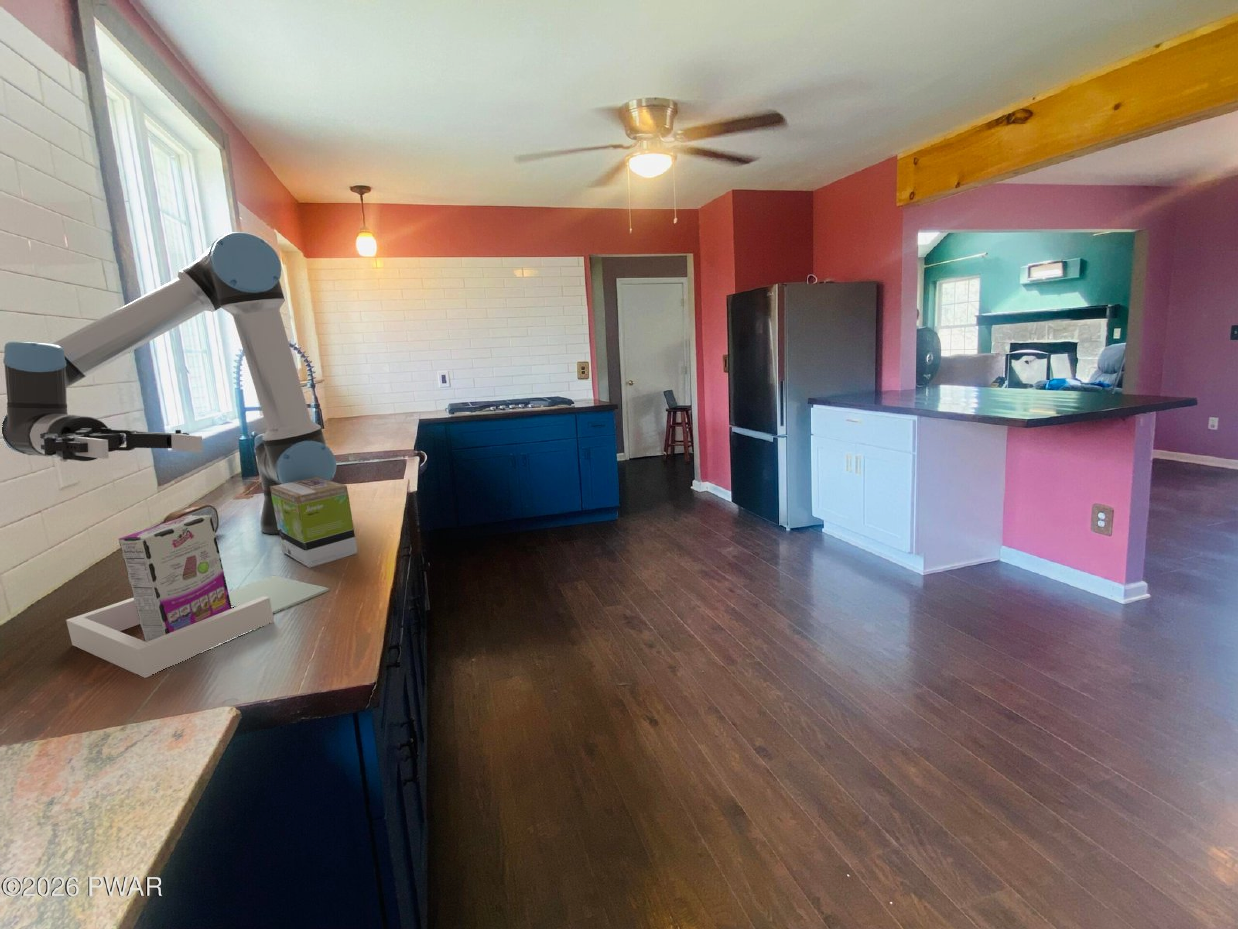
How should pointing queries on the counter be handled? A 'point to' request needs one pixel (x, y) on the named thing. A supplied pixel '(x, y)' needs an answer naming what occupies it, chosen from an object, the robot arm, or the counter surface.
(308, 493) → the tea box
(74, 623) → the white piece
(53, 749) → the counter surface
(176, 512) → the tin
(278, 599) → the sage mat
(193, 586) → the candy bar box
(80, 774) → the counter surface
